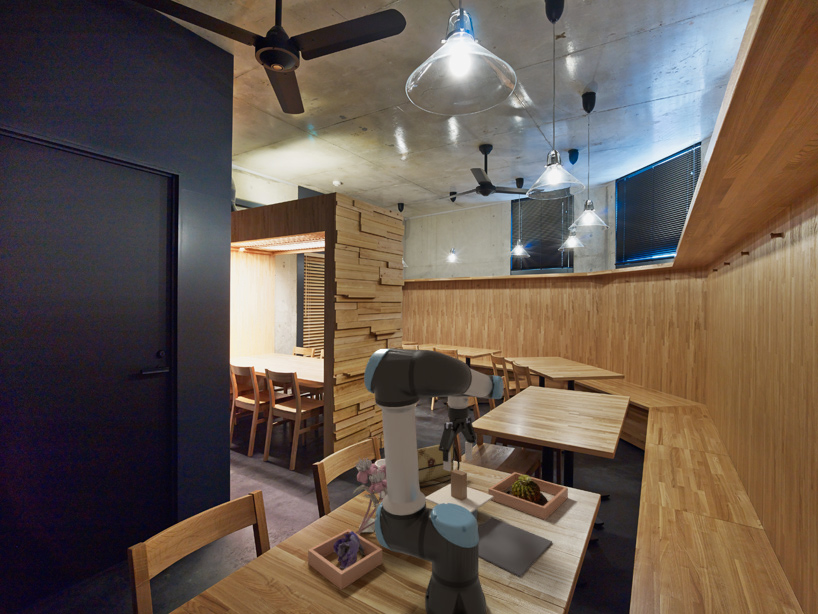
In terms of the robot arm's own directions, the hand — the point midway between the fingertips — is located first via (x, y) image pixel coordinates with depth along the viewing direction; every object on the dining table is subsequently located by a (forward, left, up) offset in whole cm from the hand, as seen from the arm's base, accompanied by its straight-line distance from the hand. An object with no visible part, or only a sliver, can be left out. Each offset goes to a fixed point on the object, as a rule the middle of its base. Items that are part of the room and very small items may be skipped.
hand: (458, 465), depth 140 cm
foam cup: (-7, +31, -19) cm, 37 cm away
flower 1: (-43, +9, -19) cm, 48 cm away
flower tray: (-45, +9, -18) cm, 49 cm away
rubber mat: (-5, -21, -18) cm, 28 cm away
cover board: (0, 0, -12) cm, 12 cm away
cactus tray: (+29, -13, -18) cm, 37 cm away
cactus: (+27, -13, -19) cm, 35 cm away
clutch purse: (+15, +25, -19) cm, 35 cm away
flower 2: (-24, +12, -19) cm, 32 cm away
